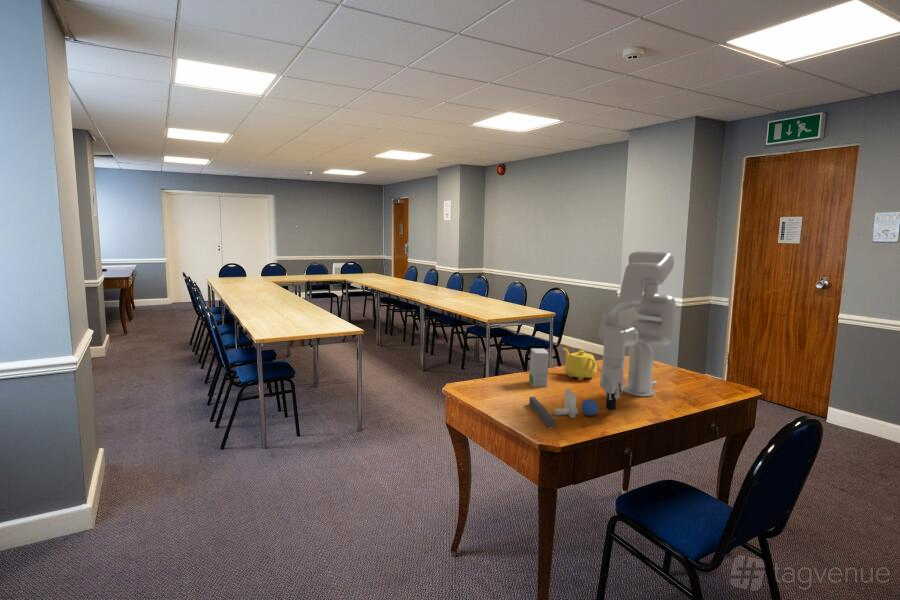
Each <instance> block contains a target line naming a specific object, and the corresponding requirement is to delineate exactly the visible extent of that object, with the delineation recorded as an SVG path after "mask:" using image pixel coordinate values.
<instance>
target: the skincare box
mask: <svg viewBox="0 0 900 600" xmlns="http://www.w3.org/2000/svg"><path fill="white" fill-rule="evenodd" d="M529 359H530V360H529V376H528V378H529V379H528V382H529V383H530V385H531V386H532V387H533V388H547V387H548V386H547V385H548V374H549V373H548V371H549V361H550V360H549V359H550V353H549V352H548V351H547V350H546V349H545V348H535V347H534V348H530V358H529Z"/></svg>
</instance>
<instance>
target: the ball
mask: <svg viewBox="0 0 900 600" xmlns="http://www.w3.org/2000/svg"><path fill="white" fill-rule="evenodd" d="M580 407H581V411H582V413H583V414H585V415H587V416H588V417H589V416H591V417H592V416H594V415H596V414H597V412H598V411H599V405H598V403H597V402H596V401H595V400H594V399H592V398H587V399H585V400H583V401H582V403H581V405H580Z"/></svg>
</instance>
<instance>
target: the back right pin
mask: <svg viewBox="0 0 900 600" xmlns="http://www.w3.org/2000/svg"><path fill="white" fill-rule="evenodd" d="M571 393H572V389H568V388H567V389H566V388H565V389H564V406H563V409H564V408H569V400H570V394H571Z"/></svg>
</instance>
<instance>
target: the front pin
mask: <svg viewBox="0 0 900 600" xmlns="http://www.w3.org/2000/svg"><path fill="white" fill-rule="evenodd" d="M578 410H579V409H578V408H577V407H576V415H578V414H579V411H578ZM553 415H554V416H569V408H564V407H563V408H554V409H553Z"/></svg>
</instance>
